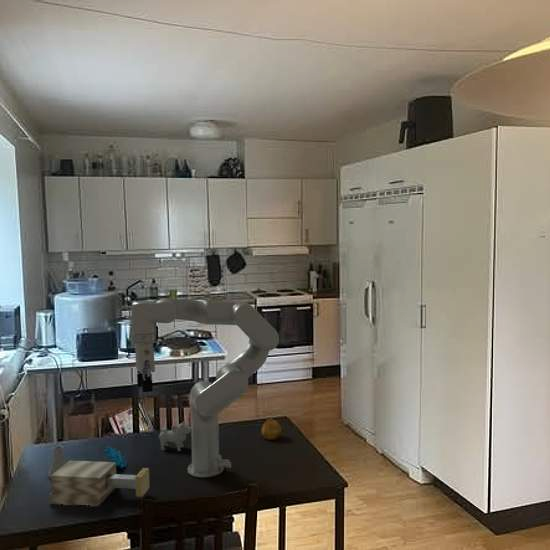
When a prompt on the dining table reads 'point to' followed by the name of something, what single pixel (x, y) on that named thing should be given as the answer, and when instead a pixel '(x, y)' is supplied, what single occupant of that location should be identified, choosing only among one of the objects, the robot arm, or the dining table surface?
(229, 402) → the robot arm
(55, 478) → the block
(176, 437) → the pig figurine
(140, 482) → the shaft
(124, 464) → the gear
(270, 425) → the fruit
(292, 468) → the dining table surface
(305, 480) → the dining table surface
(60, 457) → the flask
